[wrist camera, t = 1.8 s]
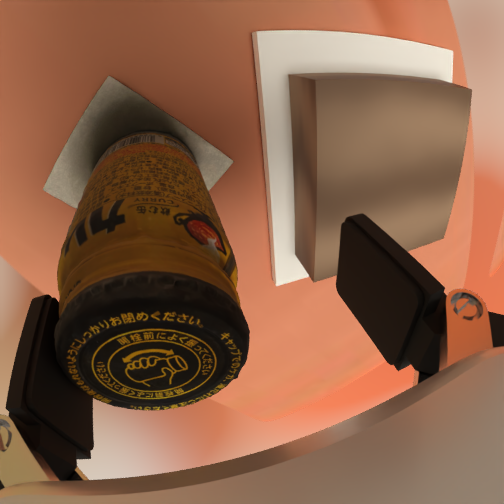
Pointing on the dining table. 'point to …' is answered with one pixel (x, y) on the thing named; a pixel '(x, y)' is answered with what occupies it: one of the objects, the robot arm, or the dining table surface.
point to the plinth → (373, 158)
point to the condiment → (144, 259)
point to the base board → (279, 113)
